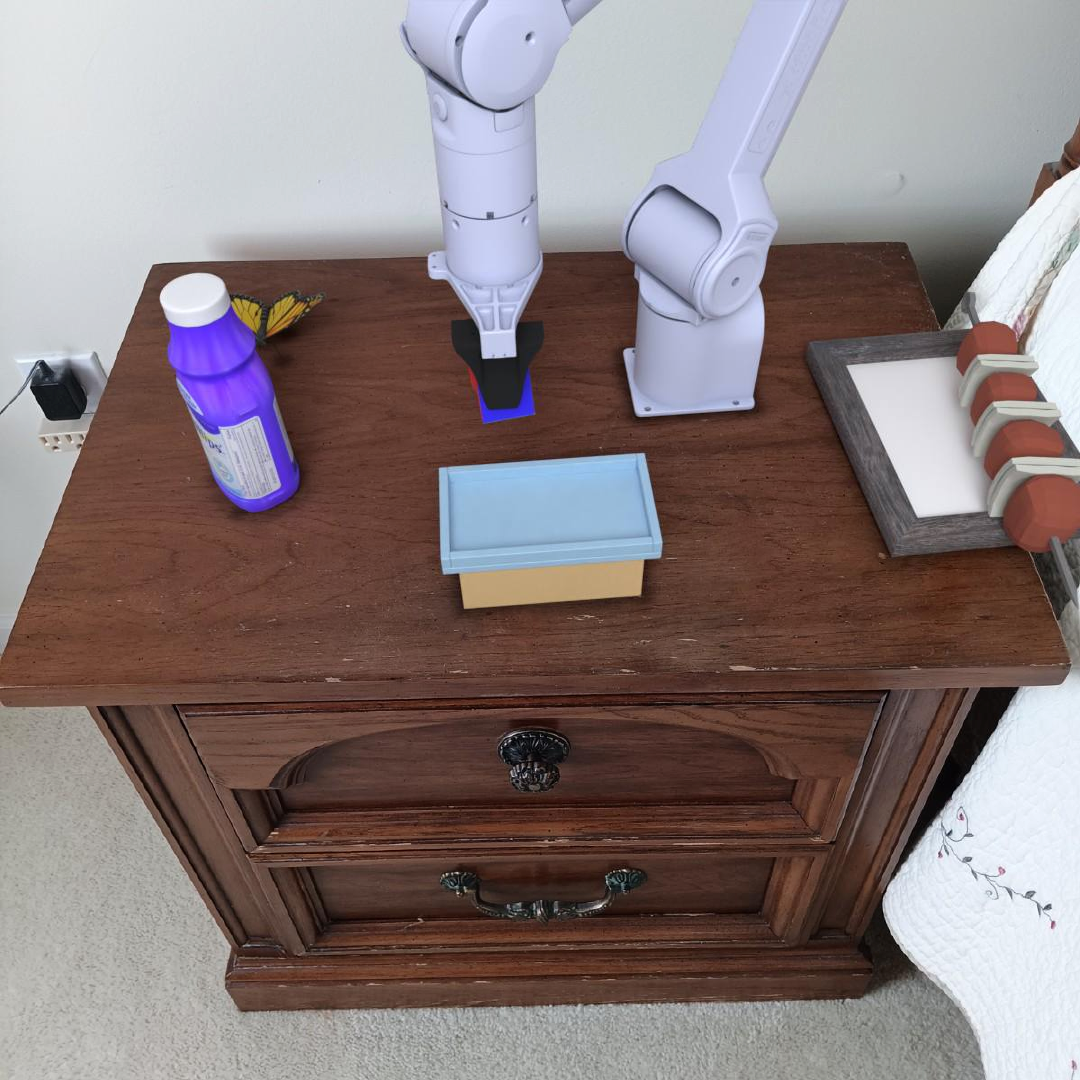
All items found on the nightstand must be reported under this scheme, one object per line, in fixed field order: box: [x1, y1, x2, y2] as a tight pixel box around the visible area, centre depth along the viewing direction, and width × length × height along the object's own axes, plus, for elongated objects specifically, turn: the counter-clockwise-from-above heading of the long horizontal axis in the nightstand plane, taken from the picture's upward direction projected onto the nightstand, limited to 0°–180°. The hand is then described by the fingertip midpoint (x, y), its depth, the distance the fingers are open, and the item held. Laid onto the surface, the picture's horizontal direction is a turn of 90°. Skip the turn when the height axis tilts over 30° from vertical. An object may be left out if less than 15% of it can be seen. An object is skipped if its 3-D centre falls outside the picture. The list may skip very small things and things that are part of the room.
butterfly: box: [228, 289, 327, 375], centre depth 84 cm, size 12×9×5 cm
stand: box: [438, 452, 663, 610], centre depth 68 cm, size 14×8×6 cm, turn 94°
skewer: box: [956, 291, 1080, 610], centre depth 71 cm, size 5×5×30 cm
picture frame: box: [804, 328, 1080, 558], centre depth 76 cm, size 16×2×21 cm
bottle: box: [159, 272, 301, 513], centre depth 69 cm, size 7×6×17 cm
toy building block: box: [467, 365, 536, 424], centre depth 68 cm, size 4×4×8 cm
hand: (500, 372), depth 69 cm, fingers closed on toy building block, 6 cm apart
